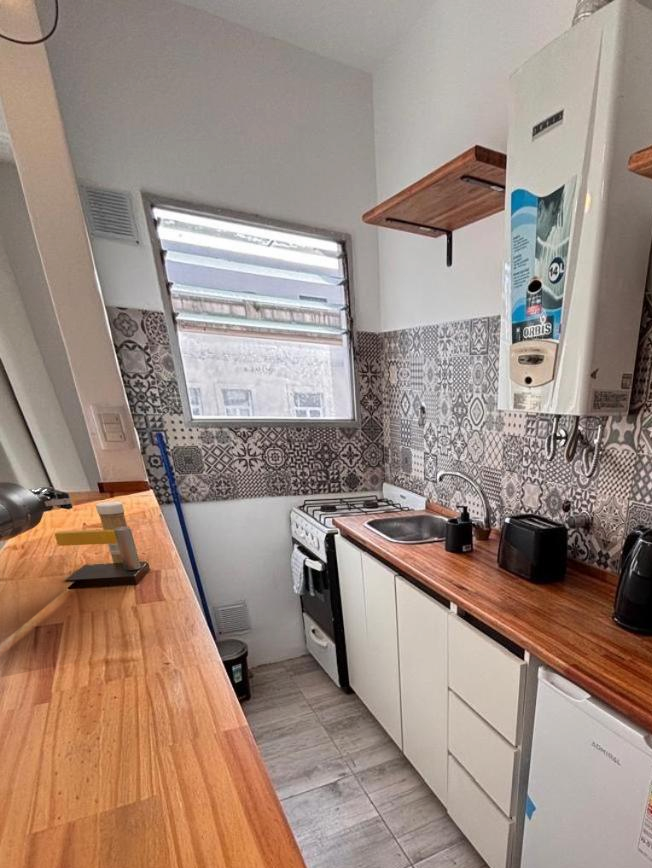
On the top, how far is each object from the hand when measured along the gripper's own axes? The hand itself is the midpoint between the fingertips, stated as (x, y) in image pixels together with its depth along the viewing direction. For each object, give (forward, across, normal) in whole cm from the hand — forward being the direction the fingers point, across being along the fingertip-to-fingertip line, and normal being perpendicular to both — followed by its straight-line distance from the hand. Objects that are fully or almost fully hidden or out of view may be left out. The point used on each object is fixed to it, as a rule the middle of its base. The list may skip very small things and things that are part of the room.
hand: (49, 493), depth 91 cm
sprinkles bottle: (+12, -4, +18) cm, 22 cm away
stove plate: (+4, -4, +18) cm, 18 cm away
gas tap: (+4, -3, +16) cm, 17 cm away
